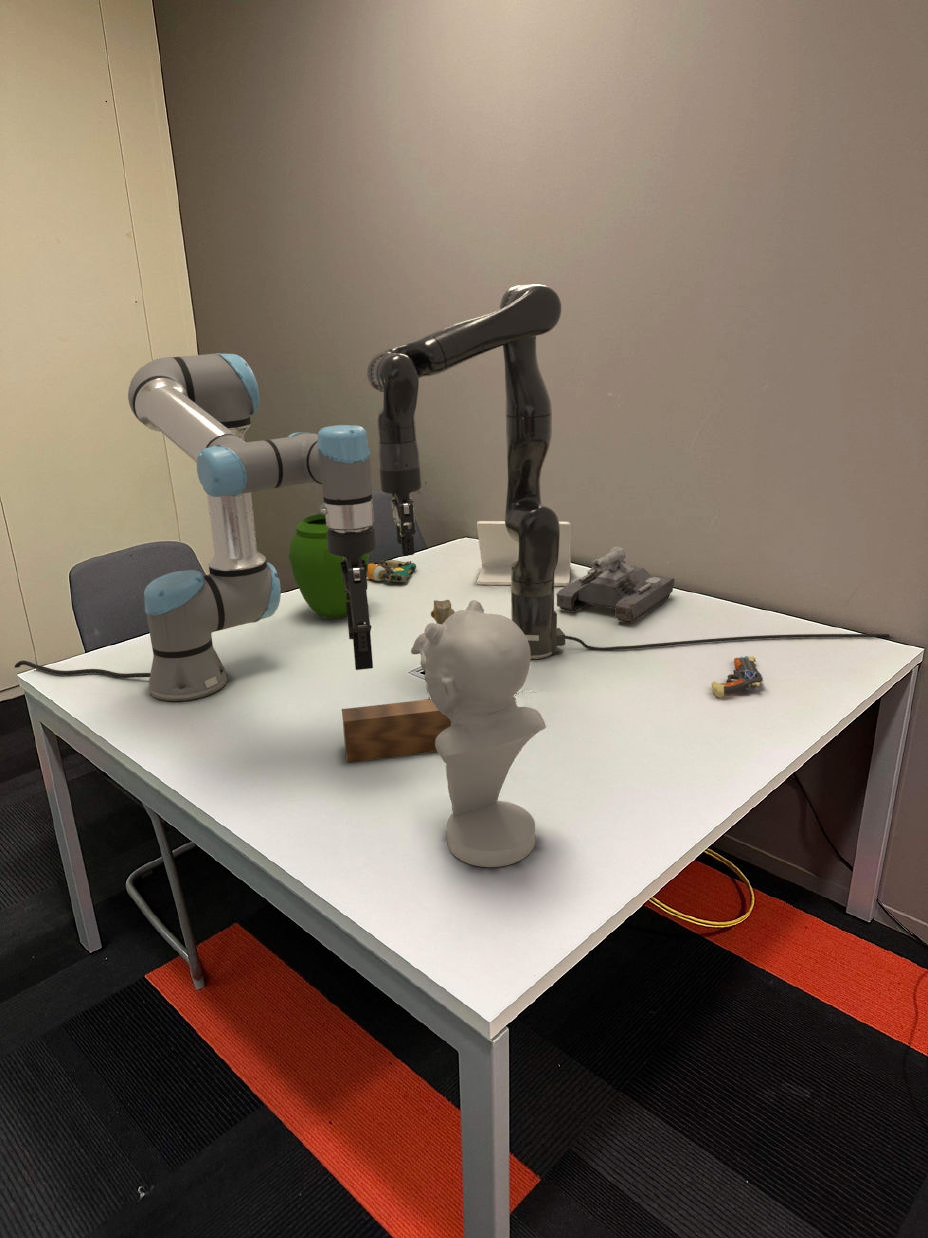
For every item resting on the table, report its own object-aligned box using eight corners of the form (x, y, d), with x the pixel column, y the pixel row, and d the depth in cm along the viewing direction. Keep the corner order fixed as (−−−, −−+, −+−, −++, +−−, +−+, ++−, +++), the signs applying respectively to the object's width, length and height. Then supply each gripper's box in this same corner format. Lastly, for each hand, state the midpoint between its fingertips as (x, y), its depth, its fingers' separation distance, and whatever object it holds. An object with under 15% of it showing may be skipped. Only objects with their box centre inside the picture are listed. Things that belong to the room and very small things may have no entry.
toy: (603, 584, 229) (605, 530, 224) (673, 597, 218) (677, 540, 213) (555, 612, 210) (556, 553, 205) (630, 627, 199) (633, 566, 194)
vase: (389, 608, 216) (383, 514, 208) (339, 633, 201) (330, 533, 192) (330, 596, 226) (322, 506, 218) (278, 619, 211) (267, 523, 202)
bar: (486, 732, 154) (485, 692, 151) (492, 744, 149) (491, 704, 147) (345, 749, 149) (341, 709, 147) (347, 763, 145) (343, 721, 142)
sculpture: (458, 662, 183) (456, 596, 178) (460, 676, 176) (457, 608, 171) (431, 663, 183) (428, 597, 177) (431, 677, 176) (428, 609, 171)
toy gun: (713, 687, 162) (768, 684, 160) (705, 654, 180) (754, 651, 178) (714, 700, 163) (769, 697, 161) (706, 666, 181) (755, 664, 179)
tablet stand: (569, 585, 229) (570, 524, 223) (476, 584, 232) (475, 523, 226) (570, 566, 246) (571, 508, 240) (484, 564, 249) (483, 507, 243)
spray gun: (385, 567, 252) (430, 574, 246) (355, 580, 238) (402, 588, 232) (385, 553, 251) (430, 559, 245) (355, 565, 236) (402, 573, 230)
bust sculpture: (481, 772, 140) (476, 569, 128) (565, 848, 120) (569, 617, 108) (392, 800, 134) (378, 588, 121) (465, 886, 114) (457, 642, 101)
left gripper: (322, 511, 144) (333, 628, 152) (330, 549, 121) (342, 685, 129) (366, 508, 146) (375, 624, 153) (383, 545, 123) (392, 679, 130)
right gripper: (424, 470, 152) (430, 557, 158) (414, 456, 166) (420, 537, 171) (382, 474, 151) (390, 561, 157) (375, 460, 164) (383, 541, 170)
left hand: (360, 652), depth 141 cm, fingers open, 13 cm apart
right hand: (405, 548), depth 164 cm, fingers open, 8 cm apart
